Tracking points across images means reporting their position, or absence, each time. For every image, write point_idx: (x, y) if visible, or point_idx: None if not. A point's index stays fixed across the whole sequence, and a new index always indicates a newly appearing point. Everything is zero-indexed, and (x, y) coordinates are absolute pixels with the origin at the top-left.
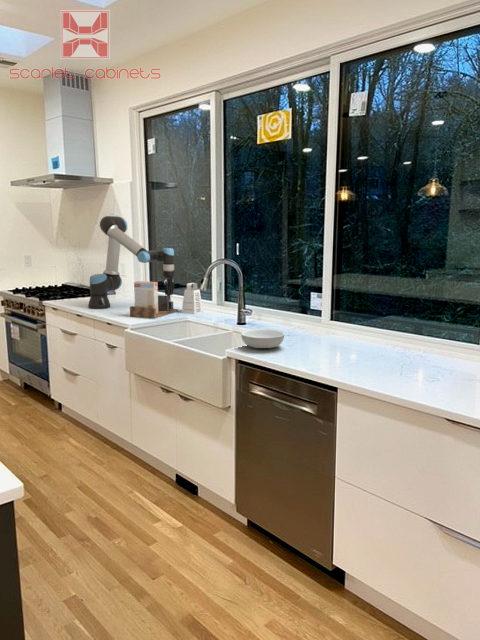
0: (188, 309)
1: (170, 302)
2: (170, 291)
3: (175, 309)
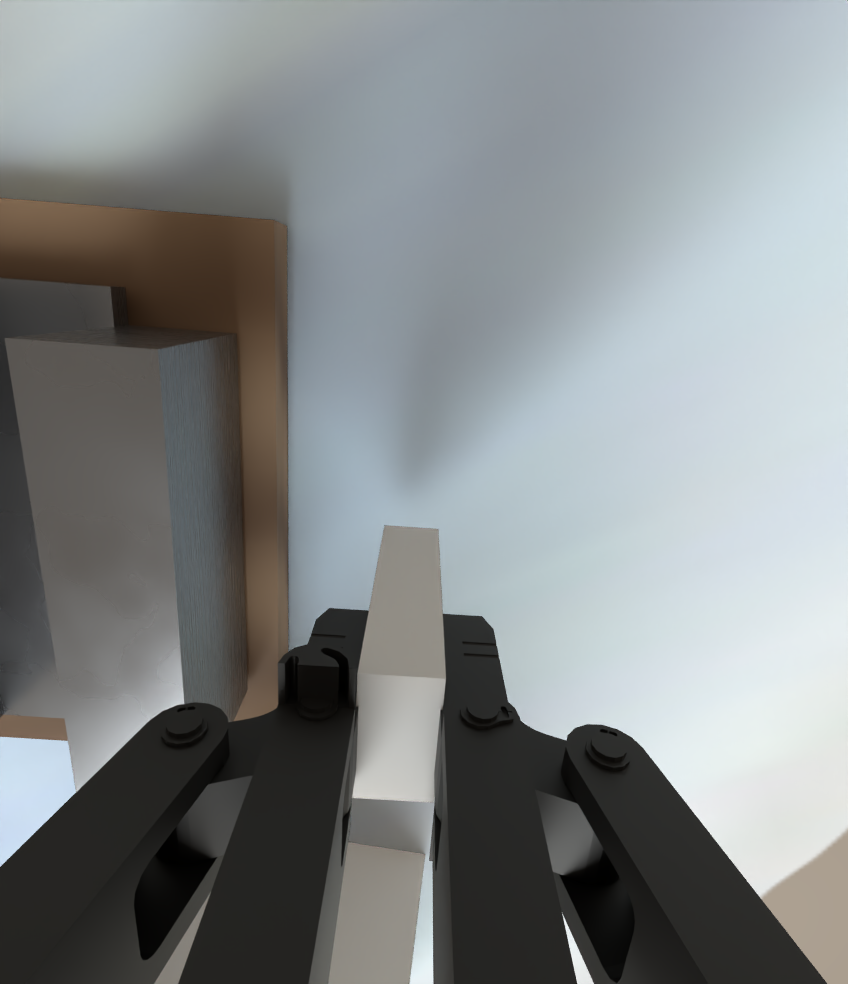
0: (369, 876)
1: (81, 782)
2: (436, 911)
3: None
